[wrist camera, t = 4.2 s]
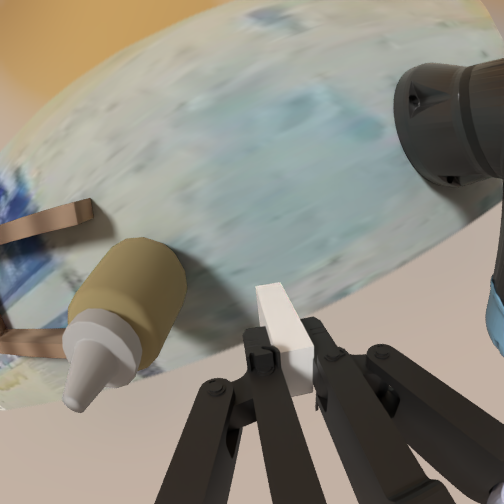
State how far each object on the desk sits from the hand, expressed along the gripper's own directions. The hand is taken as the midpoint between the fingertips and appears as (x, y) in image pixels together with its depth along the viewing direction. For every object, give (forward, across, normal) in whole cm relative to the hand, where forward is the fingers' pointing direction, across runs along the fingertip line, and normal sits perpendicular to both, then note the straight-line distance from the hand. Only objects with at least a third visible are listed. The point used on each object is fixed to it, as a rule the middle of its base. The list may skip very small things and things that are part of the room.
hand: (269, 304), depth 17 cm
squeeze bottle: (+11, +10, 0) cm, 15 cm away
